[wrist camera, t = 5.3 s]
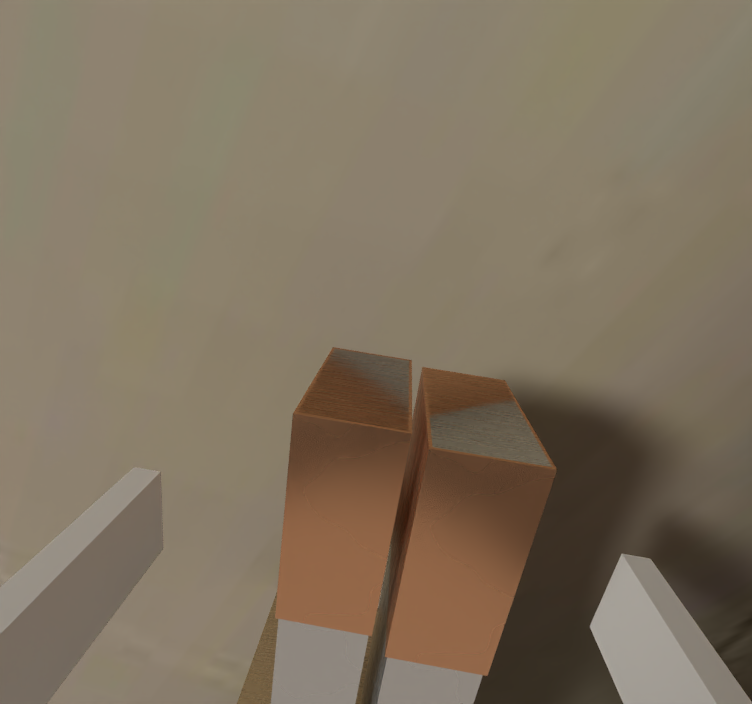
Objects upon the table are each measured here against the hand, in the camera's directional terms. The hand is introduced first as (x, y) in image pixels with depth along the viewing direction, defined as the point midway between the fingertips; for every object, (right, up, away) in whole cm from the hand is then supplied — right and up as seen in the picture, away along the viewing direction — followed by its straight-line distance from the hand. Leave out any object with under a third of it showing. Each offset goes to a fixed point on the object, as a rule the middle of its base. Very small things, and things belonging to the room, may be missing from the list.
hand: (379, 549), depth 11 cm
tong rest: (0, -2, +6) cm, 6 cm away
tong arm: (0, -3, 0) cm, 3 cm away
